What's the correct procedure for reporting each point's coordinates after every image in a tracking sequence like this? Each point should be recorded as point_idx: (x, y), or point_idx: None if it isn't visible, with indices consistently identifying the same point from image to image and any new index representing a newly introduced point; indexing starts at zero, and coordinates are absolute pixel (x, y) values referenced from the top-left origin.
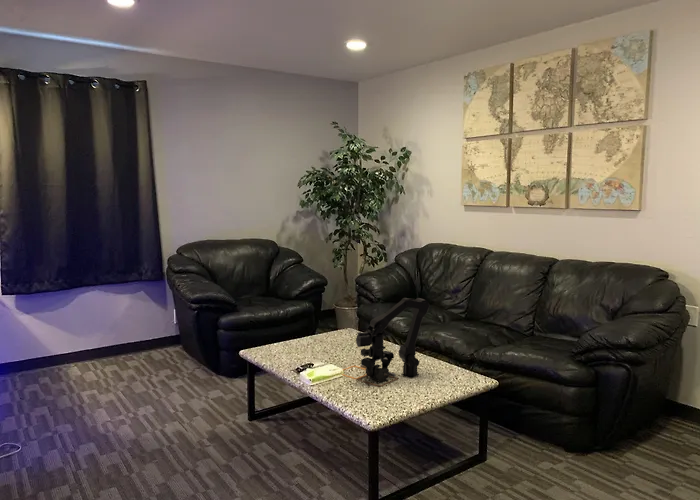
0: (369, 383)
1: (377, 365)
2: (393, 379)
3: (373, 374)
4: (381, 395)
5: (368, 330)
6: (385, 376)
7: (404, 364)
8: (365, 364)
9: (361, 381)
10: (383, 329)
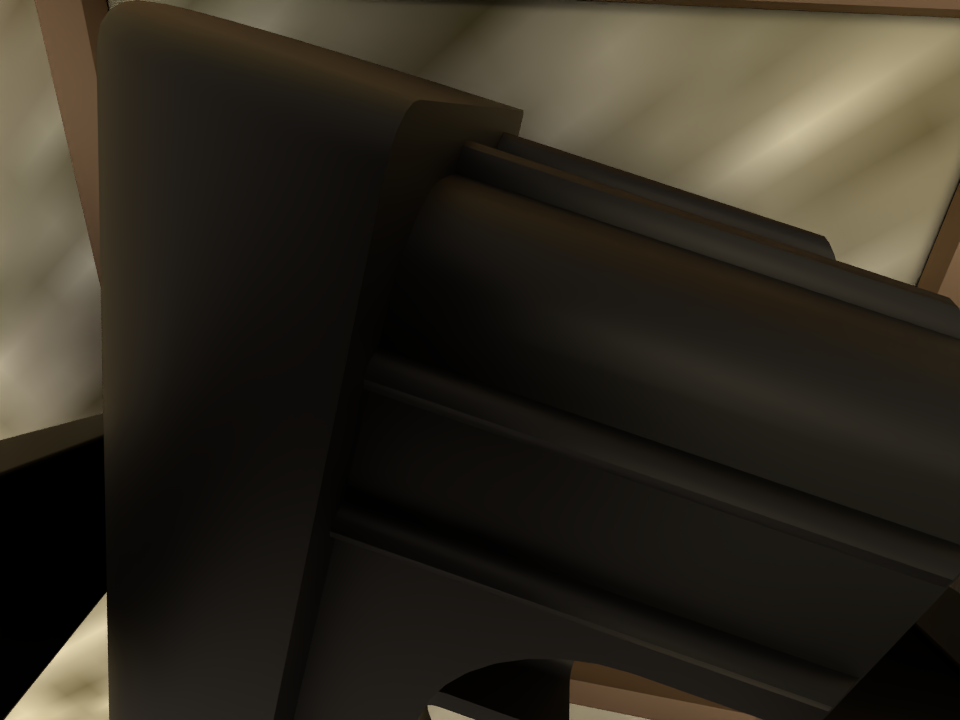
0: None
1: (738, 564)
2: (641, 694)
3: (101, 572)
4: (22, 717)
5: None
6: (454, 695)
7: None
8: None
9: (84, 132)
10: None
